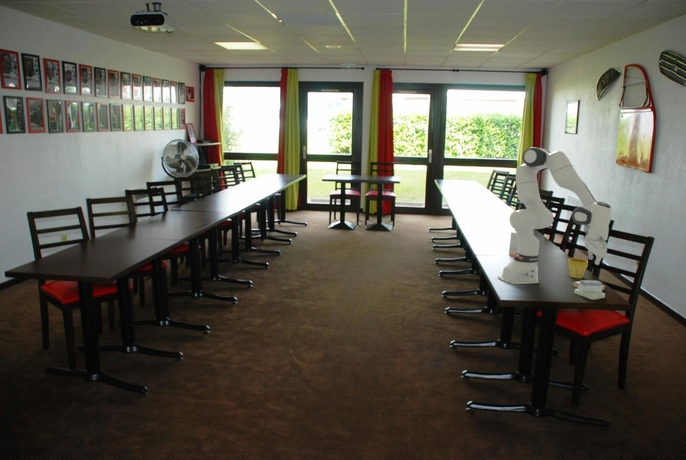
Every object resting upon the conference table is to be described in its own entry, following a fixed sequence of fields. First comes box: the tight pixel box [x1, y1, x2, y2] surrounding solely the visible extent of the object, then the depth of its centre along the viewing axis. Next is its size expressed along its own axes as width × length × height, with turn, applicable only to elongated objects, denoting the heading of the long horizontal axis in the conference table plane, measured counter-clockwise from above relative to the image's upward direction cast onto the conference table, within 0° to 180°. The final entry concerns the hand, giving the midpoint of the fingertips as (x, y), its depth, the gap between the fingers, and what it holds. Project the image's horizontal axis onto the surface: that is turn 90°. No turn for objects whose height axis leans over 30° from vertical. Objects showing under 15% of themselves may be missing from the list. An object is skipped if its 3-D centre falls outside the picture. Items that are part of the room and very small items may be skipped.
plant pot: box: [567, 257, 589, 279], centre depth 307 cm, size 10×10×10 cm
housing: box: [577, 279, 604, 293], centre depth 275 cm, size 10×5×5 cm, turn 95°
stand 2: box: [573, 288, 606, 300], centre depth 276 cm, size 9×11×2 cm
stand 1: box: [572, 280, 606, 291], centre depth 288 cm, size 11×11×2 cm
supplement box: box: [508, 230, 518, 256], centre depth 352 cm, size 9×9×15 cm
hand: (593, 261), depth 272 cm, fingers open, 8 cm apart
